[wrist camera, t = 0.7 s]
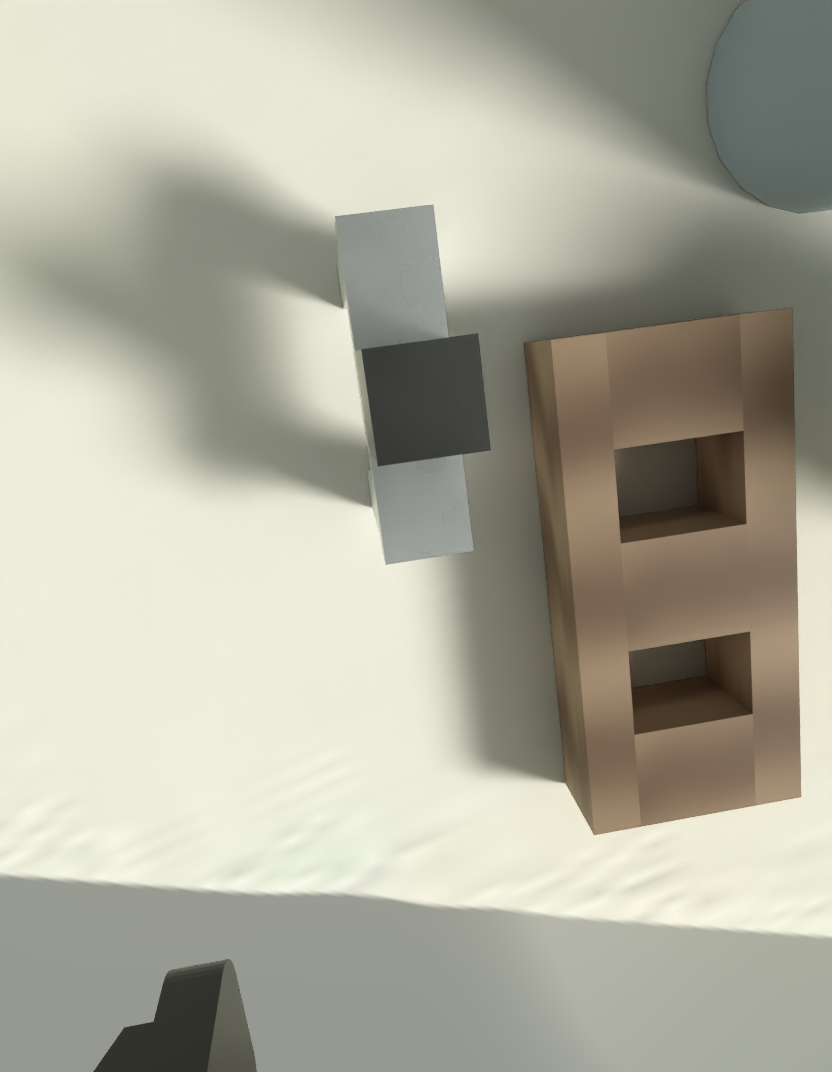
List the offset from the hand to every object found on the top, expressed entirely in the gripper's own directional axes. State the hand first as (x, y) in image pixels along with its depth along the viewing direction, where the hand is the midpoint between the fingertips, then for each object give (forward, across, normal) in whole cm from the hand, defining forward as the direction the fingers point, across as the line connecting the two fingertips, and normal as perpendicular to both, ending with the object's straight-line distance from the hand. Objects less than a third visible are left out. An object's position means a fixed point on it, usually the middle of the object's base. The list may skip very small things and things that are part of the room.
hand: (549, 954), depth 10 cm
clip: (+24, -1, -6) cm, 24 cm away
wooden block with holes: (+23, -11, +3) cm, 26 cm away
